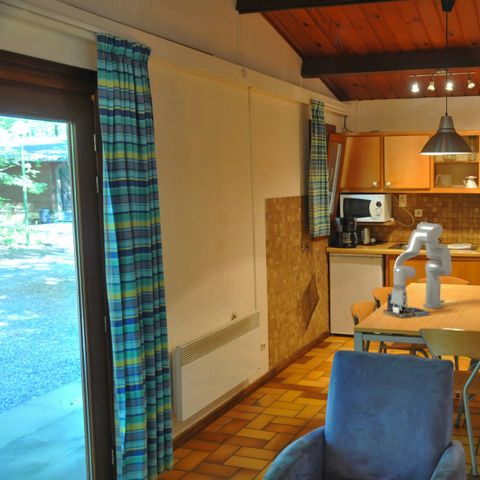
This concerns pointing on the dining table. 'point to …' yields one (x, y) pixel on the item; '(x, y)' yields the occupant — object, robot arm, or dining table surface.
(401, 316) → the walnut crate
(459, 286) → the dining table surface
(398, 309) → the letter cube
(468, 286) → the dining table surface
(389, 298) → the small box
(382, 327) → the dining table surface
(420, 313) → the charcoal tray
